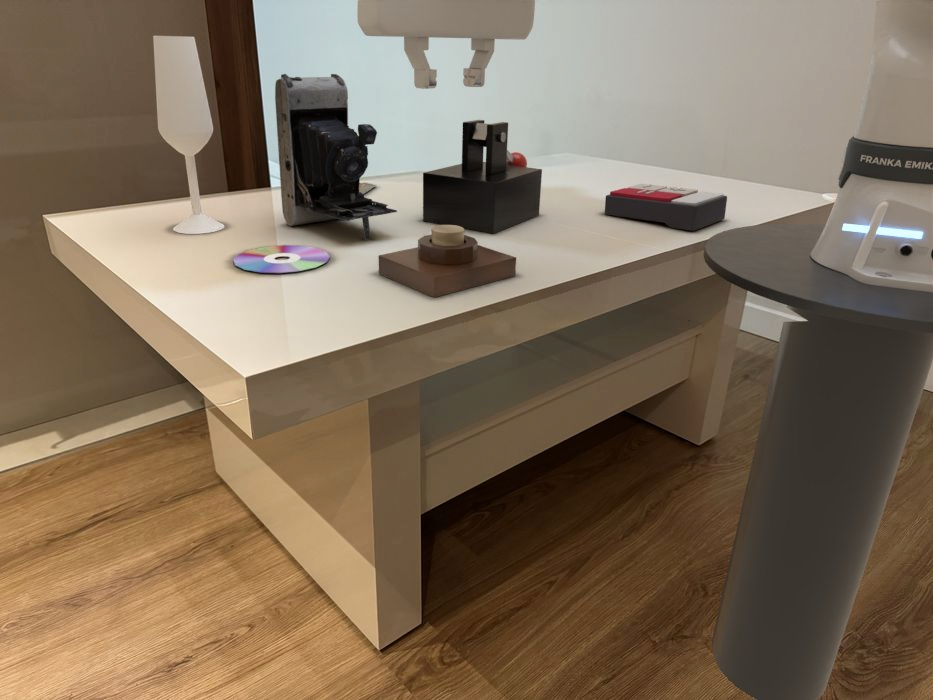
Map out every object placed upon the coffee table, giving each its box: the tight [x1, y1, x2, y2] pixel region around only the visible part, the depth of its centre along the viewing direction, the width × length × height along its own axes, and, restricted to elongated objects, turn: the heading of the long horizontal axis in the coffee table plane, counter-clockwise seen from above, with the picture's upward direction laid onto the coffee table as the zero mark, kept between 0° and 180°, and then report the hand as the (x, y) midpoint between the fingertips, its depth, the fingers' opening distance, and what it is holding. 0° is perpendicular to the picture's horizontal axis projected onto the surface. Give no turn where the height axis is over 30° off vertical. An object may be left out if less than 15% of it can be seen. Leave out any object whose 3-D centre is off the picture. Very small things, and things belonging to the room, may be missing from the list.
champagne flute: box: [152, 35, 225, 235], centre depth 92 cm, size 7×7×24 cm
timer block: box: [377, 233, 517, 298], centre depth 79 cm, size 12×10×4 cm
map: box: [359, 182, 377, 195], centre depth 117 cm, size 5×20×1 cm, turn 169°
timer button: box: [431, 224, 465, 246], centre depth 78 cm, size 4×4×2 cm
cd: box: [232, 244, 331, 274], centre depth 84 cm, size 11×11×1 cm
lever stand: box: [422, 119, 543, 235], centre depth 103 cm, size 14×12×14 cm
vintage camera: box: [274, 73, 398, 241], centre depth 93 cm, size 10×16×20 cm, turn 42°
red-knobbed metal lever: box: [472, 122, 528, 167], centre depth 106 cm, size 14×4×4 cm, turn 147°
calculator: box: [604, 183, 728, 232], centre depth 108 cm, size 11×4×15 cm
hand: (450, 87), depth 72 cm, fingers open, 5 cm apart
